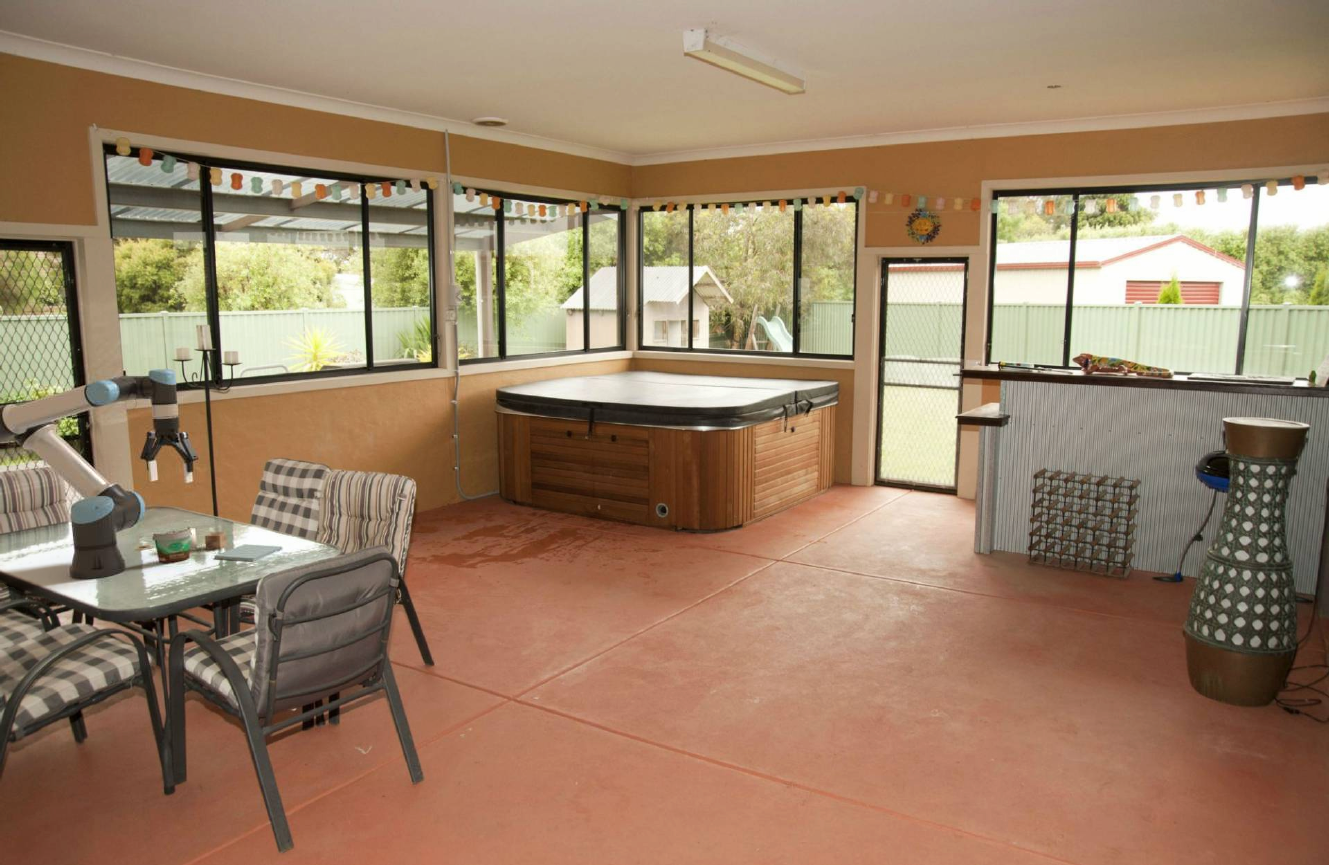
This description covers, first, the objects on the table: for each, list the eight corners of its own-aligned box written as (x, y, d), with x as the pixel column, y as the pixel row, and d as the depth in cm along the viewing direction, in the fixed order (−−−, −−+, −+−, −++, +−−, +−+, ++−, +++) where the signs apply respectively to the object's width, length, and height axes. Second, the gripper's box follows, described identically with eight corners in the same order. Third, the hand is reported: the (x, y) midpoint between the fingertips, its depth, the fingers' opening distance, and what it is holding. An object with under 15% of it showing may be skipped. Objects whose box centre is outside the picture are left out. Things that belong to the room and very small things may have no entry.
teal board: (214, 558, 310) (214, 555, 309) (244, 547, 324) (244, 544, 324) (253, 561, 306) (253, 558, 306) (282, 549, 320) (282, 546, 320)
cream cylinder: (177, 550, 320) (175, 531, 319) (188, 547, 325) (186, 527, 324) (189, 551, 319) (188, 531, 318) (200, 547, 324) (198, 528, 323)
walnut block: (206, 549, 321) (204, 535, 321) (212, 546, 326) (211, 532, 326) (220, 549, 321) (219, 535, 321) (227, 545, 326) (226, 532, 326)
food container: (163, 566, 301) (160, 536, 300) (154, 563, 305) (151, 533, 303) (201, 557, 311) (198, 528, 309) (192, 555, 314) (189, 526, 313)
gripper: (206, 416, 302) (211, 480, 305) (142, 414, 308) (148, 477, 311) (189, 419, 294) (195, 484, 297) (124, 417, 300) (130, 482, 303)
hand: (171, 481), depth 304 cm, fingers open, 13 cm apart
